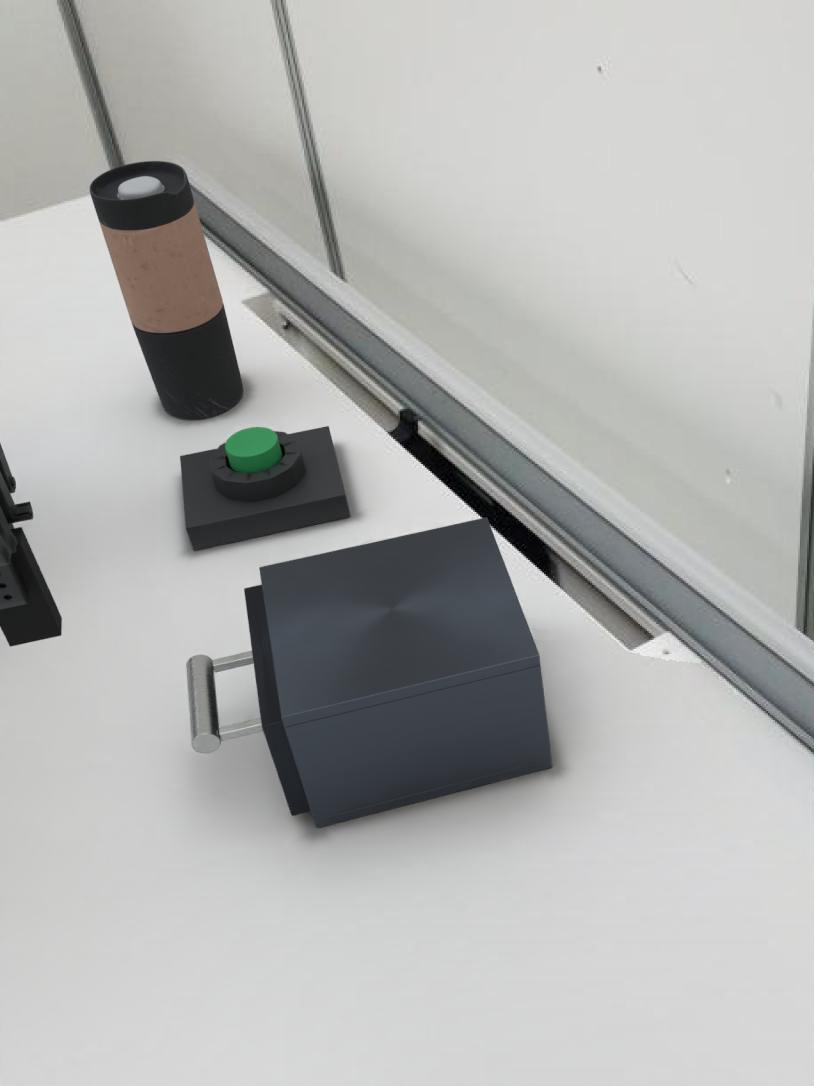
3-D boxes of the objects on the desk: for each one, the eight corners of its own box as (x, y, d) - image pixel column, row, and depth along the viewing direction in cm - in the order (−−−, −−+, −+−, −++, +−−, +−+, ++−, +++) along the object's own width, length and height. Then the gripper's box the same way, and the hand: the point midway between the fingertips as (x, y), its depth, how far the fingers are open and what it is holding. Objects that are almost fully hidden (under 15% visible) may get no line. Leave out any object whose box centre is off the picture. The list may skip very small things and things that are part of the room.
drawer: (216, 835, 75) (180, 746, 70) (204, 692, 84) (171, 604, 79) (512, 760, 78) (499, 669, 73) (470, 630, 87) (455, 540, 82)
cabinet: (316, 828, 76) (281, 717, 70) (291, 676, 86) (258, 566, 79) (552, 767, 79) (539, 655, 72) (502, 626, 88) (487, 516, 82)
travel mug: (151, 390, 114) (79, 174, 101) (234, 366, 117) (174, 152, 104) (170, 431, 109) (97, 209, 96) (257, 405, 112) (197, 185, 98)
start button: (232, 479, 97) (226, 460, 96) (228, 451, 100) (223, 432, 99) (284, 468, 98) (279, 449, 97) (279, 440, 101) (274, 422, 100)
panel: (193, 551, 97) (179, 509, 94) (187, 477, 104) (173, 437, 101) (350, 517, 99) (341, 475, 96) (333, 447, 106) (324, 406, 103)
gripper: (-73, 285, 50) (107, 698, 66) (-47, 158, 60) (105, 546, 75) (-279, 320, 49) (-45, 732, 65) (-219, 183, 58) (-28, 573, 74)
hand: (36, 631), depth 70 cm, fingers closed
